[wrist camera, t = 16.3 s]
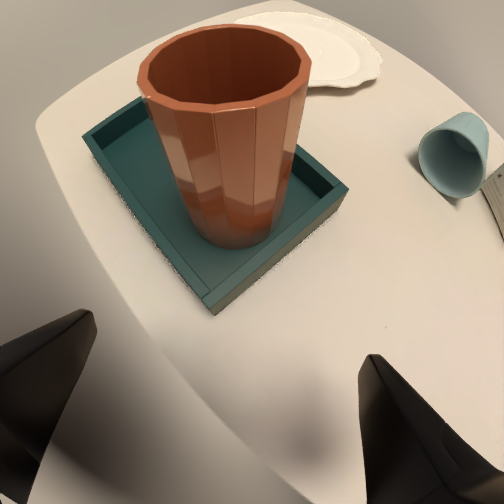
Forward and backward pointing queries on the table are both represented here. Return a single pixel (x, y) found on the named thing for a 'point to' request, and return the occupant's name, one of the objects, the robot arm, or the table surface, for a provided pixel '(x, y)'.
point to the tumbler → (228, 124)
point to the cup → (455, 155)
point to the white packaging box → (496, 194)
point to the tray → (176, 219)
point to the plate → (325, 47)
